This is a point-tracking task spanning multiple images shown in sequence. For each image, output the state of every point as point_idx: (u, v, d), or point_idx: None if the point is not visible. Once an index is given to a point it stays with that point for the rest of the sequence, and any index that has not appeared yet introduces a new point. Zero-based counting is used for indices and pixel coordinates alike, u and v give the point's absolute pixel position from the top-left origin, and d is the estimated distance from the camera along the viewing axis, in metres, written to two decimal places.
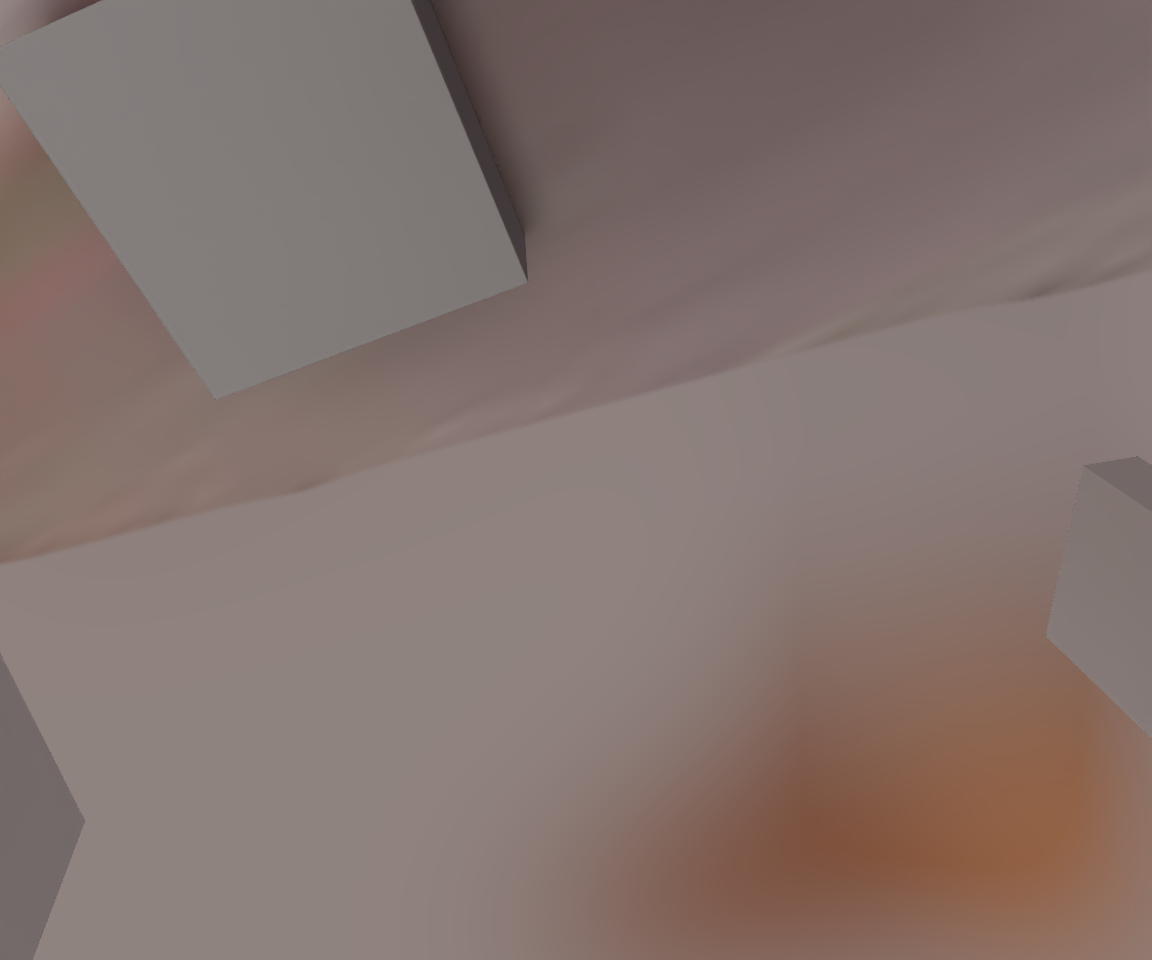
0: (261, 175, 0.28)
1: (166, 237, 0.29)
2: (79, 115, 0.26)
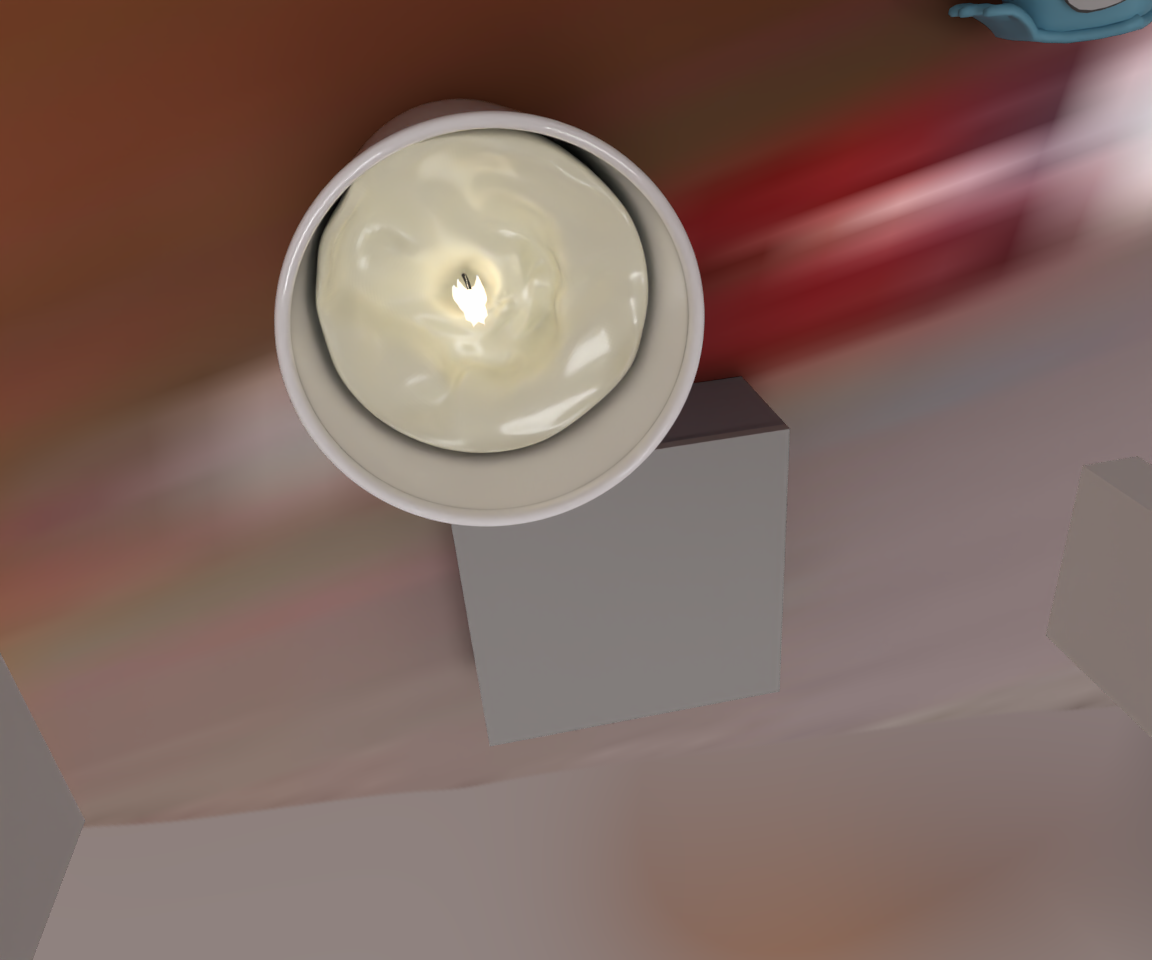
0: (618, 593, 0.33)
1: (518, 625, 0.33)
2: (499, 533, 0.31)
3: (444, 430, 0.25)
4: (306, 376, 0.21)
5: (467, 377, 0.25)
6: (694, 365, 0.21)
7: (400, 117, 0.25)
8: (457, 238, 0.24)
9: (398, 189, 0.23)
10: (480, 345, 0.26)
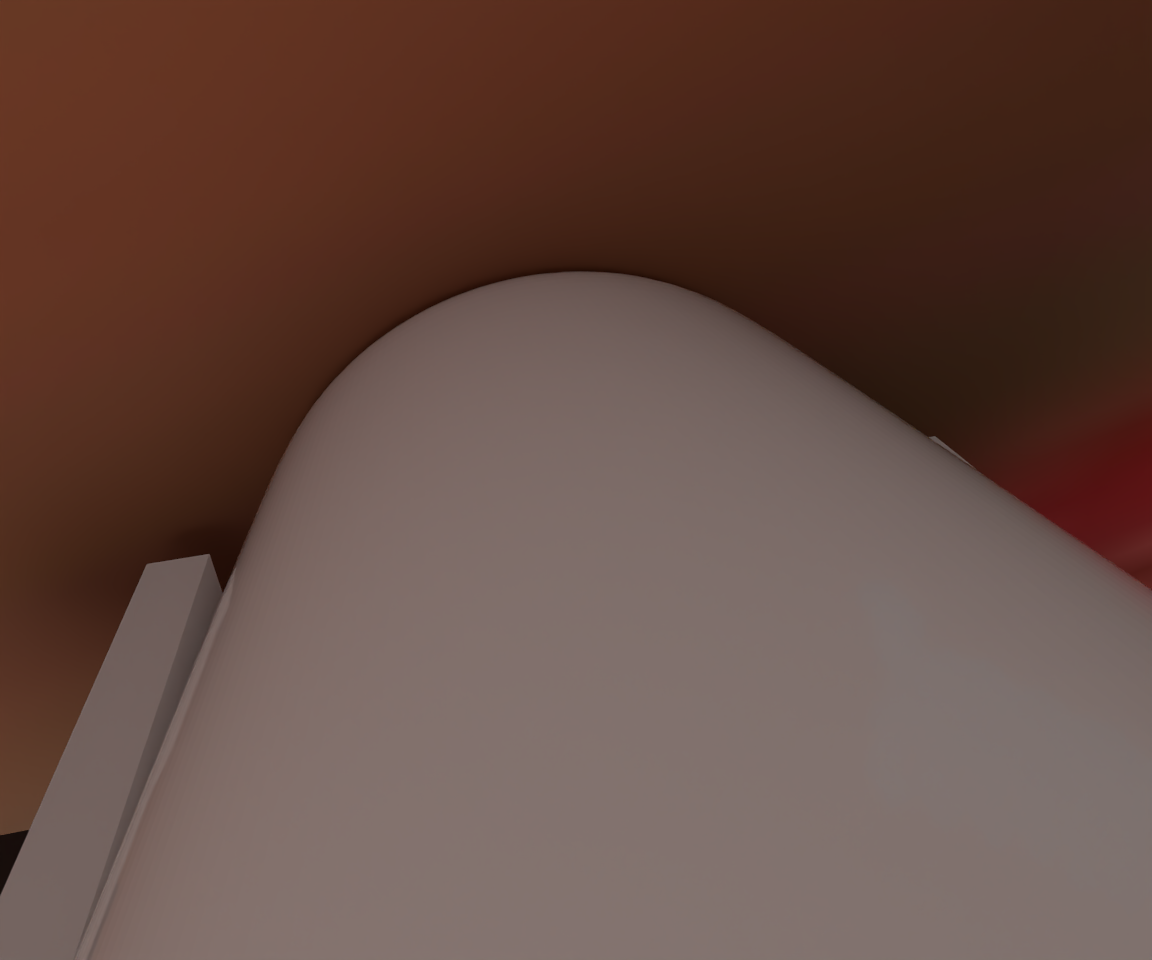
0: None
1: None
2: None
3: None
4: None
5: None
6: None
7: (424, 415, 0.07)
8: None
9: None
10: None
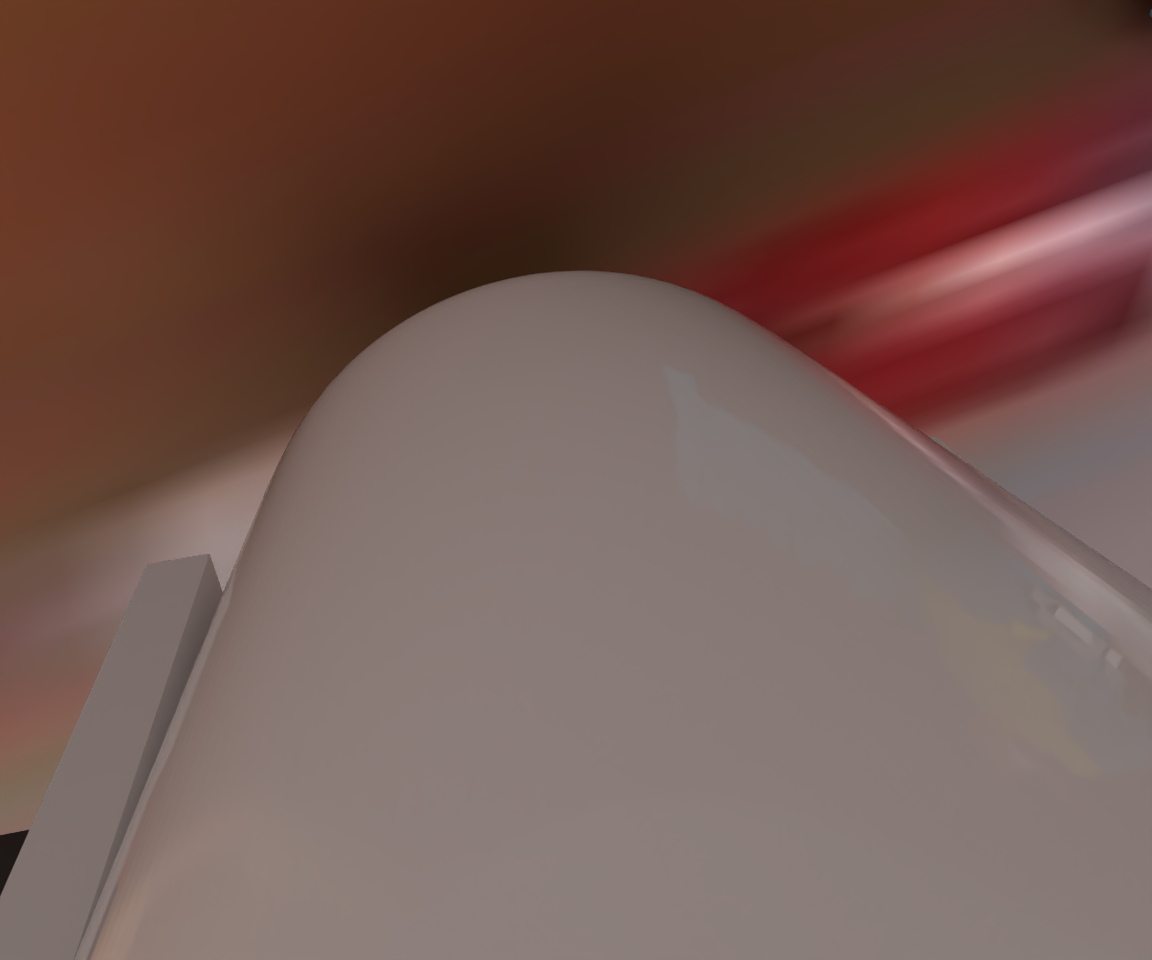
0: None
1: None
2: None
3: None
4: None
5: None
6: None
7: (424, 413, 0.07)
8: None
9: None
10: None
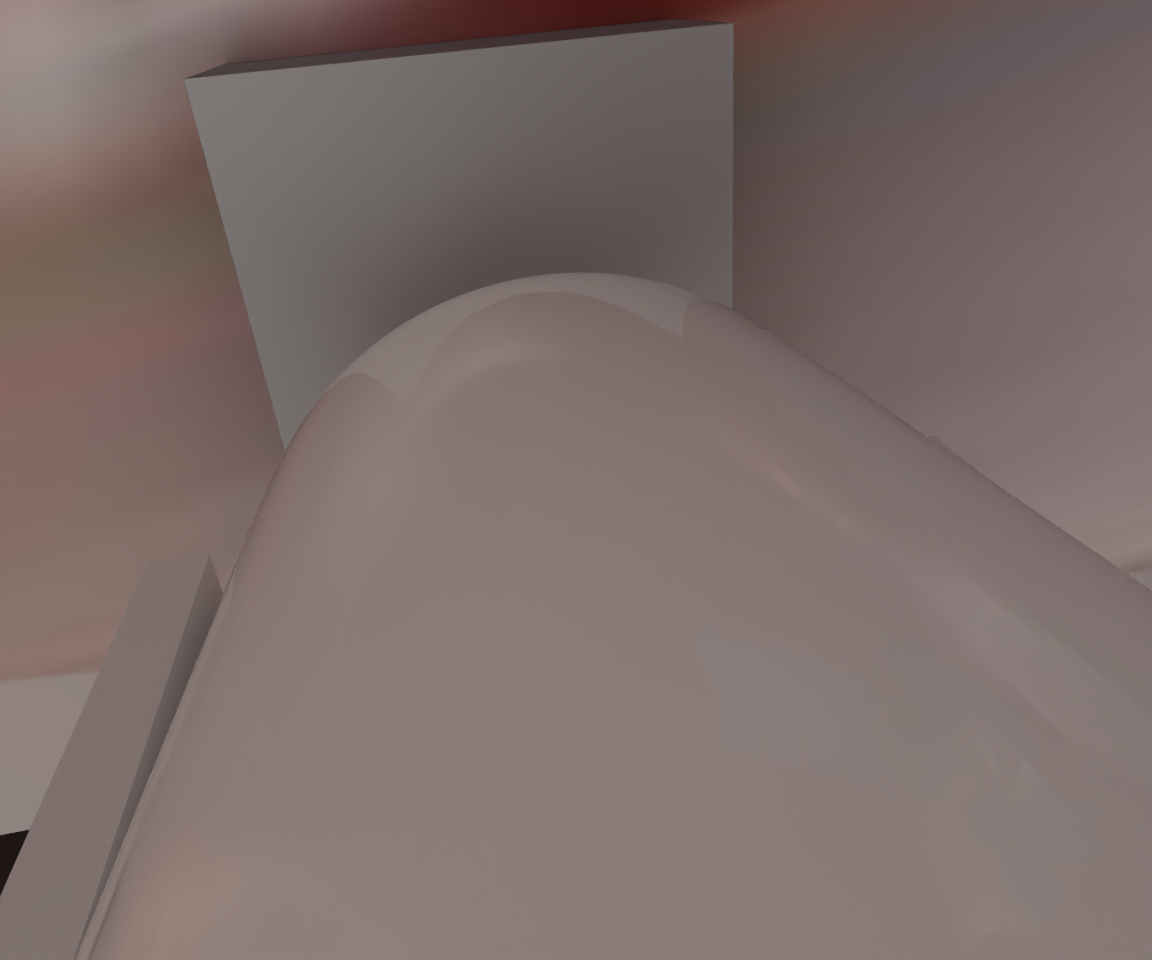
0: None
1: (334, 351, 0.22)
2: (286, 184, 0.20)
3: None
4: None
5: None
6: None
7: (424, 417, 0.07)
8: None
9: None
10: None
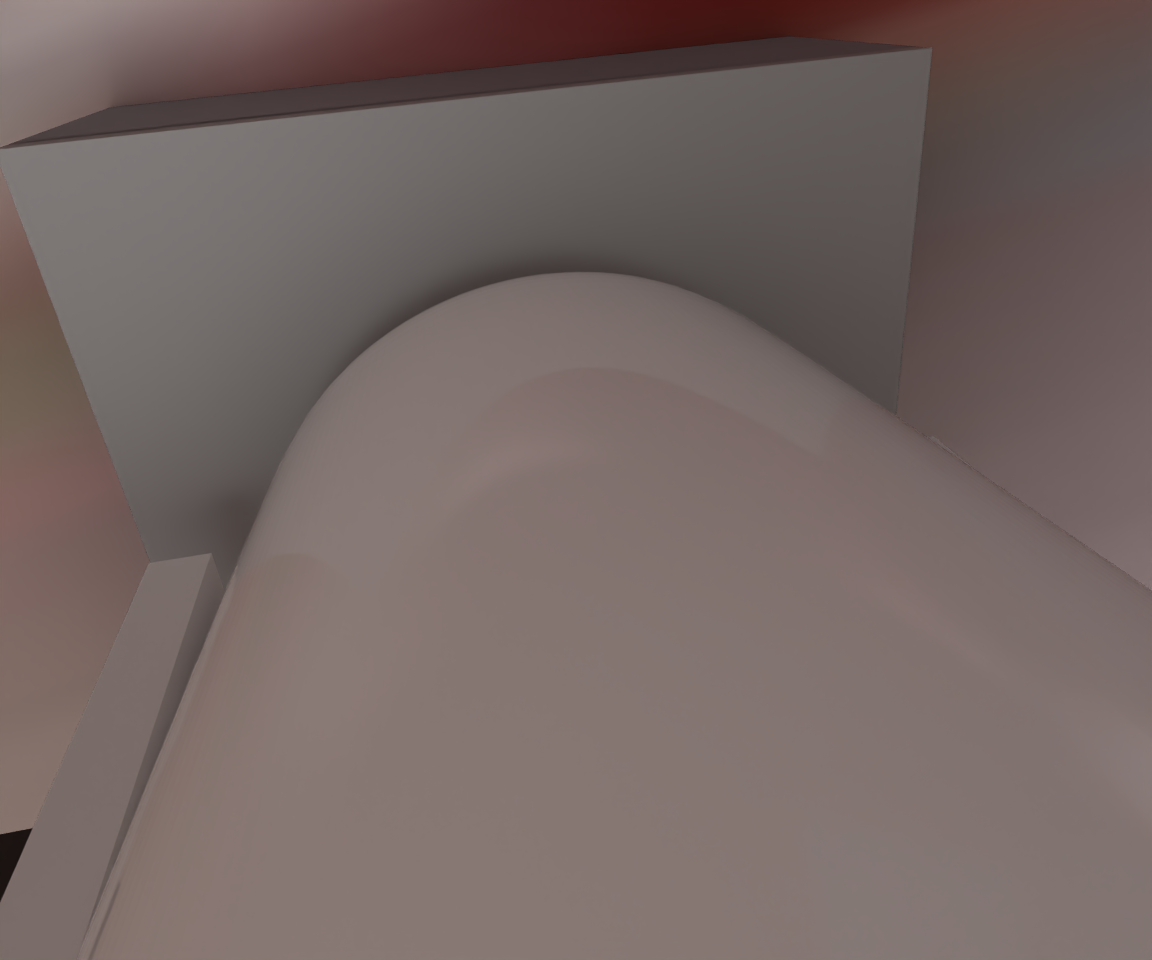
0: None
1: None
2: (186, 318, 0.12)
3: None
4: None
5: None
6: None
7: (424, 415, 0.07)
8: None
9: None
10: None
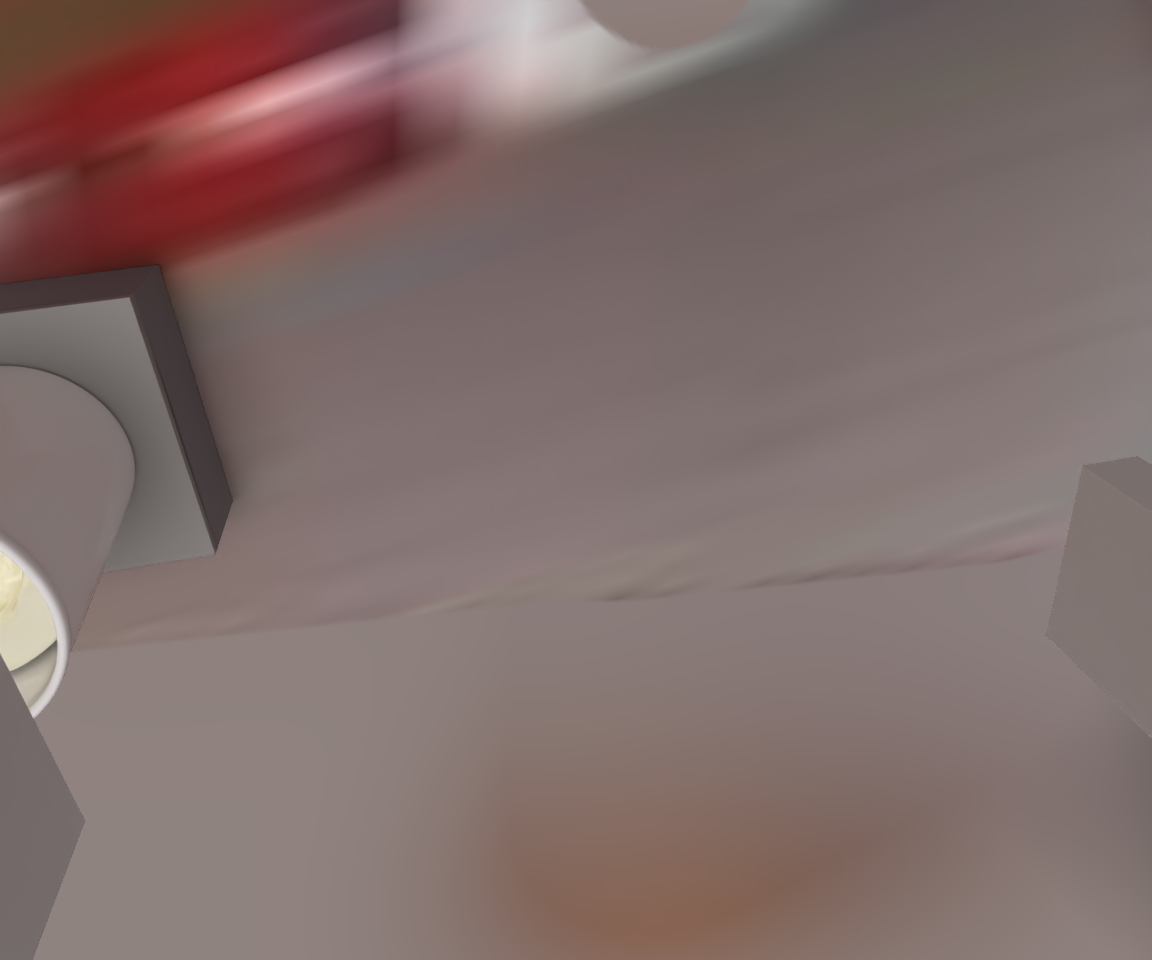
0: None
1: None
2: None
3: None
4: None
5: None
6: (60, 642, 0.28)
7: None
8: None
9: None
10: None
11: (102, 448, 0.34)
